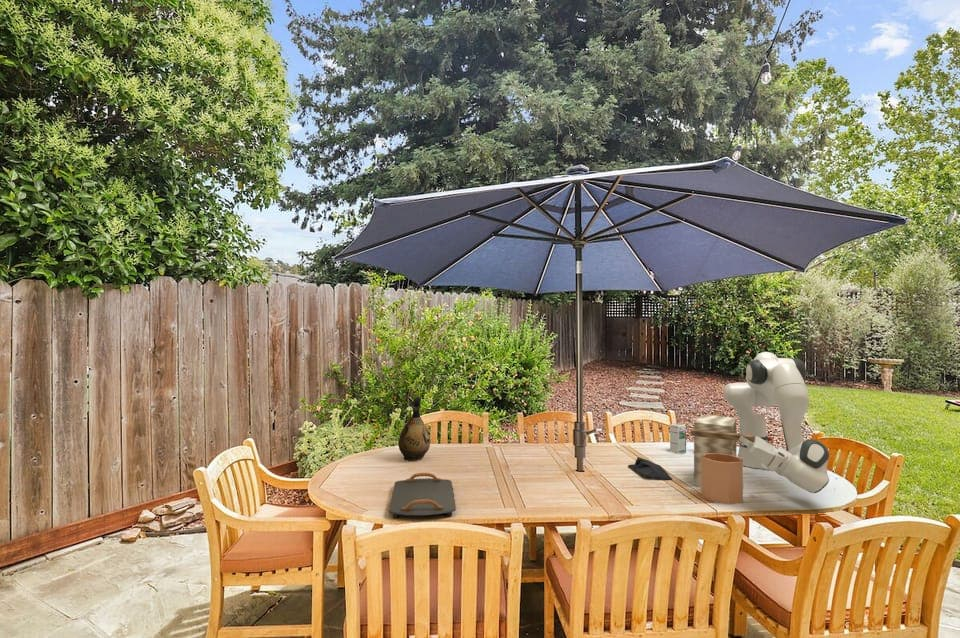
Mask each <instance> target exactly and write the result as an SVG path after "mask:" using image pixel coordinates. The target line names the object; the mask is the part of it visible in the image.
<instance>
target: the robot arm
mask: <svg viewBox="0 0 960 638" xmlns="http://www.w3.org/2000/svg"><path fill="white" fill-rule="evenodd" d="M745 373H746V375H745V381H746V382H741V381H740V382H730V383H727V384H726V385H725V386H724V388H723V392H722V393H723V398H724V400H725V402H727V403H728V404H729V405H730V406H731V407H733V409H734V410H735V412H736V413H737V416H738V420H739V433H738V434H747V435H755V441H754V443H753V442H751V441H749V440H747V439H746V438H745V437H743V436H740V438H739V441H738V442H739V447H738V454H737V457H739V458H742V459H743V467H747V468H751V469H752V468H753V469H761V470H765V471H770V472H775V473H776V474H778V475H779V476H781V477H784V478H786V479H787V480H789V482H790V483H792V484H793V485H795V486H796V487H798V488H800V489H802V490H804V491H805V492H808V493H810V494H817V493H819V492H820V491H822V490H823V489H824V488H825V487H827V485H828V484H829V482H830V478H829V475H828V463H829V458H830V451H829V449H828V448H827V446H826V445H825V444H823V443H822V442H821V441H819V440H817V439H813V438H811V439H810V438H809V439H804V435H803V429H802V424H803V423H802V422H803V419H804V417H805V414H806V412H807V410H808V408H809V406H810V395H809V391H808V388H807V385H806V382H805V379H806V377H807V368H806V364H805V363H804V362H803V360H801V359H800V358H795V357H789V358H785V357H778V356H777V354H774V353H773V352H770V351H762V352H760V353H757V355H756V356H755V357H754V358H753V360H750V361H749V362H748V363H747V364H746V369H745ZM777 406H778V410H779V411H778V412H779V416H780V422H781V423H780V424H781V428H782V432H783V437H784V443H785V448H786V449H785V448H783V447H781V446H778V447H775V446H773V444H770V442H774V441H775V438H774V437H773V436H771V435H770V436H767V420H766V419H765V417H764V416H763V415H761V414H760V413H758V412H755V411H754V410H753V407H767V408H768V407H777Z"/></svg>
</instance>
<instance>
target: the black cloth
mask: <svg viewBox="0 0 960 638" xmlns="http://www.w3.org/2000/svg"><path fill="white" fill-rule="evenodd" d="M627 467H629V468H630V469H631V470H632V471H634V472H636V473H637V474H638V475H640V476H641V477H643V478H645V479H652V478H654V479H655V480H661V479H662V481H673V480H672V479H673V477H671V476H670V475H669V473H668V472H667V470H665V469H664V468H663V467H662V466H661V465H659V464H656V463H654V462H652V461H650V460H649V459H647V458H646V459H645V458H642V457H636V459H635V462H634V464H628V465H627Z"/></svg>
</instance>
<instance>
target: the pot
mask: <svg viewBox="0 0 960 638" xmlns="http://www.w3.org/2000/svg"><path fill="white" fill-rule="evenodd" d="M700 495H701V497H703V498H704V499H707V500H709V501H710V502H716V503H721V504H728V505H730V504H731V505H732V504H742V503H743V500H744V466H743V459H742V458H739V457H738V456H737V455H736V456H733V455H728V454H720V453H706V454H703V455H702V456H701V487H700Z"/></svg>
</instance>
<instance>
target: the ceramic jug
mask: <svg viewBox="0 0 960 638" xmlns="http://www.w3.org/2000/svg"><path fill="white" fill-rule="evenodd" d="M414 398H415V399H414V400H413V401H411V402H410V408H411V409H413V410H412V414H411V417H410V418H409V419H408V421H407V422H406V424H405V425H404V426H403V427H402V430H401V432H400V434H399V438H398V450H399V451H400V453H401V454H402V455H403V460H404V459H405V460H404V461H407V460H408V461H407V462H418V461H417V460H420V461H422V460H423V459H424V457H425V455H426V454H427V453H428V452H429V450H430V446H431V435H430V433H429V430H428V428H427V426H426V423H425V422H424V421H423V419H422V417H421V416H420V415H421V414H420V411H421V410H420V409H421V401H422V397H421V396H418V395H417V396H416V397H414ZM422 458H423V459H422ZM421 459H422V460H421Z"/></svg>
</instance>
